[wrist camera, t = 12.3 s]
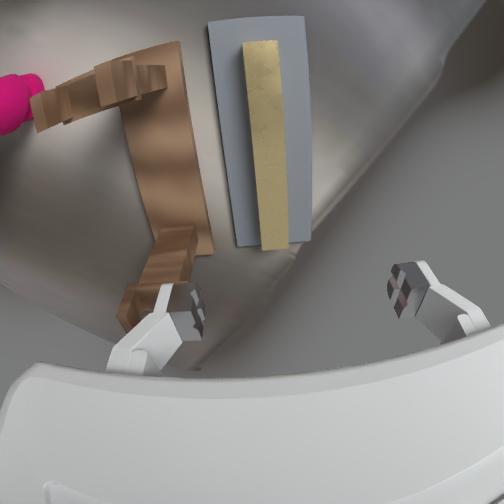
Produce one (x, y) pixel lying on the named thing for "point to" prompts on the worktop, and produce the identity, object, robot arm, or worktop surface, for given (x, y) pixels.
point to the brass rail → (268, 140)
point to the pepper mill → (17, 100)
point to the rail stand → (146, 158)
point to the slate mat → (239, 128)
